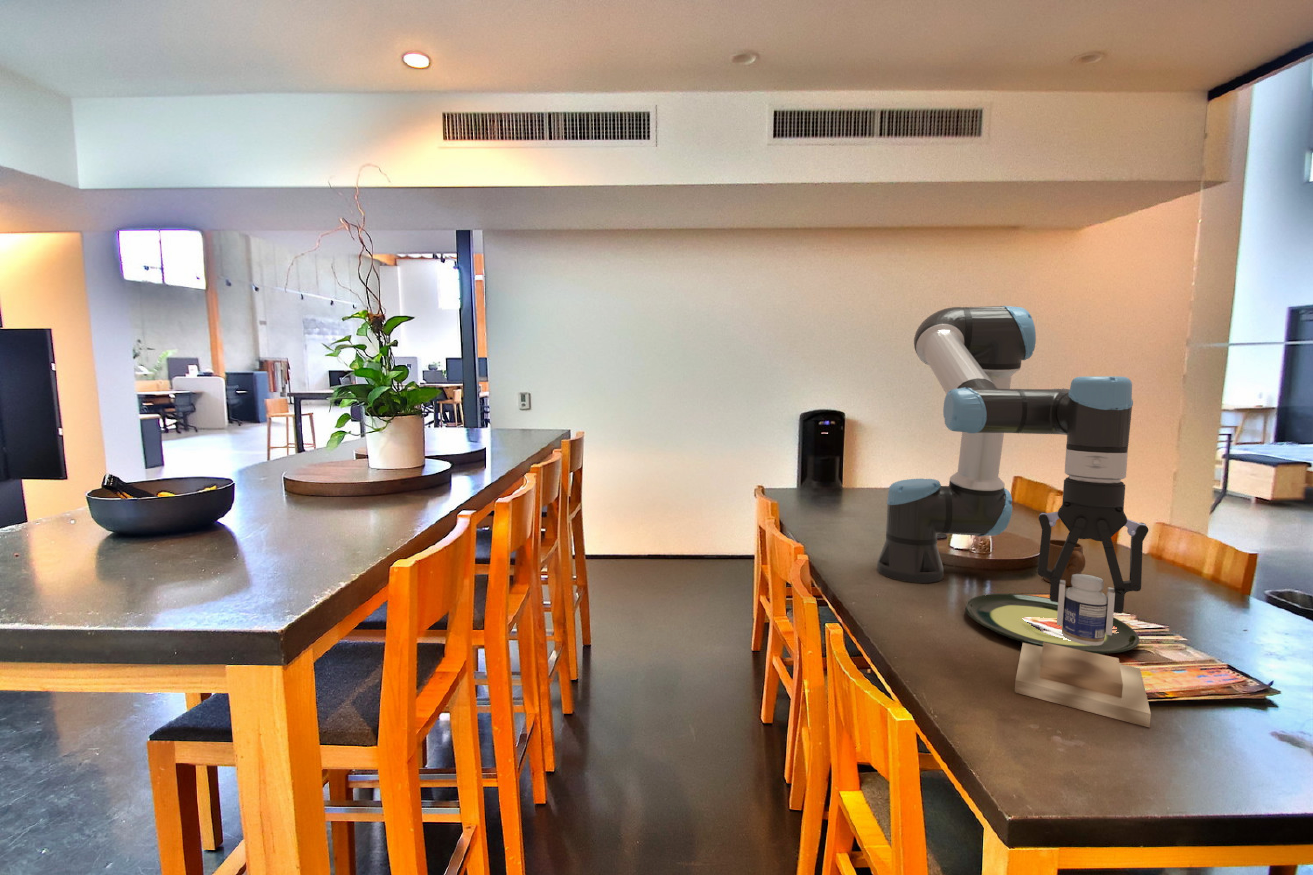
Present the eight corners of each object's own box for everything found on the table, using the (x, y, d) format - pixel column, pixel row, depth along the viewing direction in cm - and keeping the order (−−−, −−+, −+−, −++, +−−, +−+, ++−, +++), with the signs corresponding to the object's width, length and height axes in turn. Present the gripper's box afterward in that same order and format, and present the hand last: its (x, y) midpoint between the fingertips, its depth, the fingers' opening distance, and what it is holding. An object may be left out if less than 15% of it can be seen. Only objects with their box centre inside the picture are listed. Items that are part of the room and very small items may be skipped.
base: (1014, 692, 91) (1016, 667, 91) (1022, 653, 104) (1023, 631, 104) (1149, 727, 82) (1152, 699, 81) (1139, 680, 95) (1141, 656, 94)
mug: (1099, 594, 133) (1102, 553, 132) (1062, 592, 134) (1065, 552, 133) (1069, 577, 145) (1072, 539, 144) (1036, 575, 146) (1038, 538, 145)
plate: (1084, 679, 96) (1085, 664, 96) (933, 617, 120) (934, 605, 120) (1169, 644, 109) (1170, 631, 108) (1017, 595, 133) (1018, 584, 133)
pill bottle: (1056, 629, 95) (1061, 570, 94) (1096, 635, 93) (1101, 574, 93) (1067, 643, 90) (1072, 580, 89) (1109, 649, 88) (1115, 585, 88)
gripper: (1021, 475, 92) (1012, 620, 94) (1178, 488, 81) (1164, 651, 83) (1024, 470, 98) (1016, 606, 100) (1170, 481, 88) (1158, 633, 90)
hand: (1083, 626), depth 92 cm, fingers closed on pill bottle, 5 cm apart
